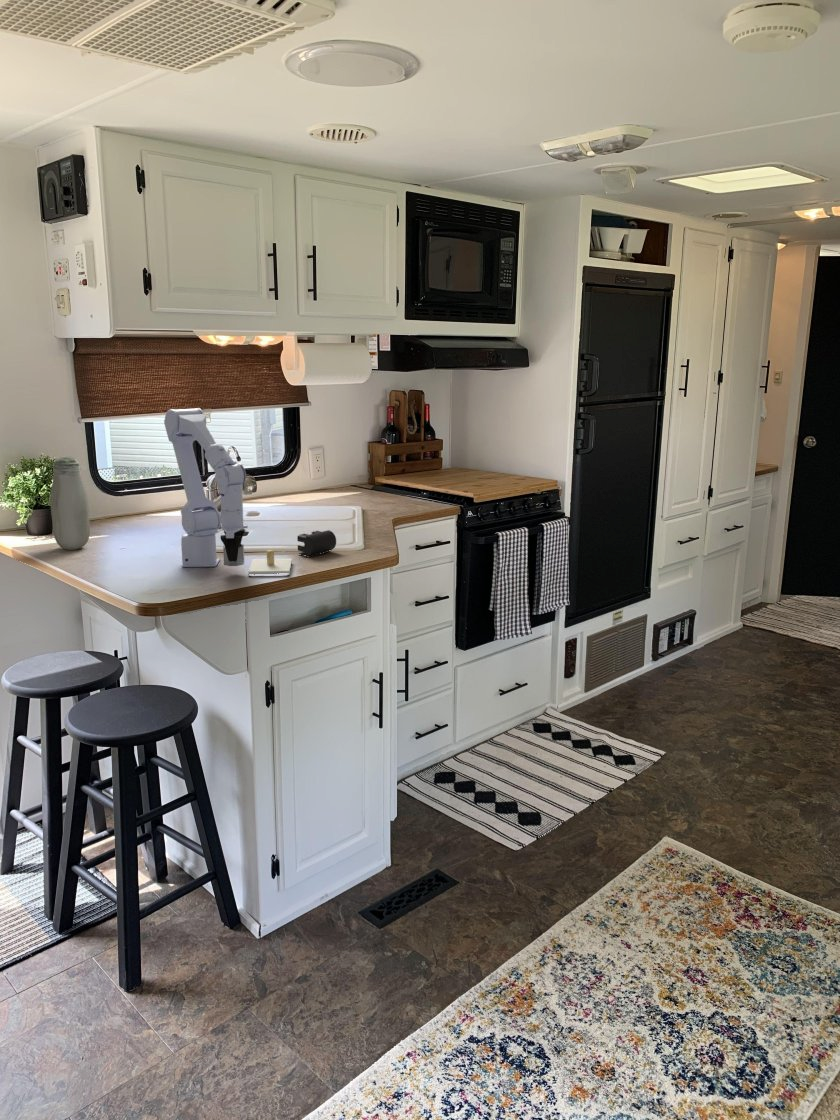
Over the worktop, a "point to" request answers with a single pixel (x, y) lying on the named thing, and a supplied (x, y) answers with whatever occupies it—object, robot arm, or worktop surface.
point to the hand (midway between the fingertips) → (233, 558)
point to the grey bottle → (69, 505)
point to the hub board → (270, 565)
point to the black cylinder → (316, 542)
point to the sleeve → (239, 559)
